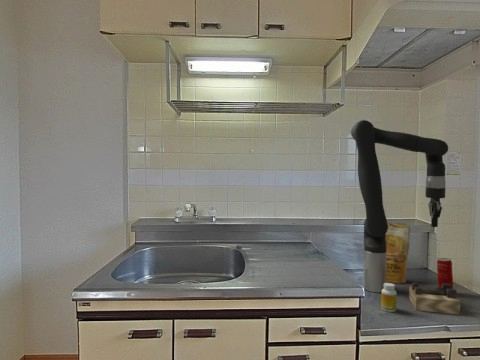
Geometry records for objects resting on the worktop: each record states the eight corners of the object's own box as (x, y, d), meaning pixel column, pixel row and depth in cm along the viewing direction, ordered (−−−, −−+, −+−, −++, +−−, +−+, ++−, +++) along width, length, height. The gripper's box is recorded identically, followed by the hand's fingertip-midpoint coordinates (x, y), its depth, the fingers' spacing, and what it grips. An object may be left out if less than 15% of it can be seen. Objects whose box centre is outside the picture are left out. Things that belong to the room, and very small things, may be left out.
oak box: (415, 310, 139) (416, 289, 139) (409, 297, 153) (409, 278, 152) (459, 314, 135) (460, 293, 135) (448, 301, 149) (449, 281, 148)
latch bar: (416, 292, 143) (416, 289, 143) (414, 288, 147) (414, 285, 147) (451, 294, 140) (451, 291, 140) (448, 291, 144) (448, 288, 144)
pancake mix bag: (366, 276, 182) (367, 220, 181) (408, 281, 175) (409, 223, 174) (365, 279, 176) (366, 222, 175) (408, 285, 169) (410, 225, 167)
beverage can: (455, 296, 155) (456, 261, 154) (438, 295, 156) (439, 260, 155) (450, 291, 160) (451, 257, 160) (434, 290, 162) (435, 256, 161)
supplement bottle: (394, 313, 136) (395, 287, 136) (379, 310, 139) (380, 285, 139) (397, 308, 141) (397, 283, 140) (382, 305, 143) (383, 281, 143)
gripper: (422, 185, 164) (421, 224, 165) (429, 187, 151) (428, 228, 152) (440, 186, 162) (439, 224, 163) (449, 187, 149) (448, 229, 150)
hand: (434, 226), depth 157 cm, fingers closed
